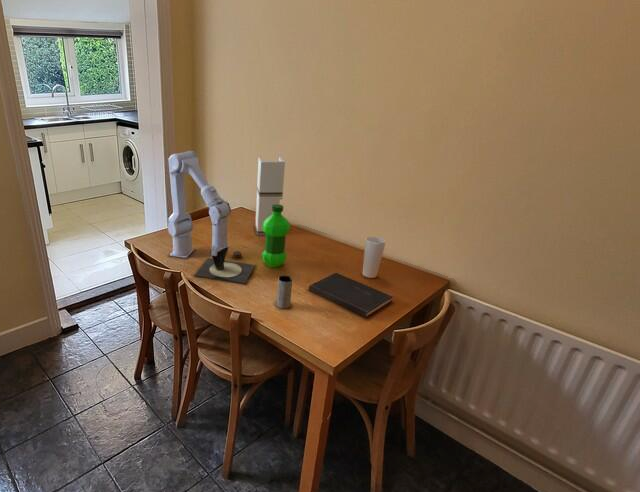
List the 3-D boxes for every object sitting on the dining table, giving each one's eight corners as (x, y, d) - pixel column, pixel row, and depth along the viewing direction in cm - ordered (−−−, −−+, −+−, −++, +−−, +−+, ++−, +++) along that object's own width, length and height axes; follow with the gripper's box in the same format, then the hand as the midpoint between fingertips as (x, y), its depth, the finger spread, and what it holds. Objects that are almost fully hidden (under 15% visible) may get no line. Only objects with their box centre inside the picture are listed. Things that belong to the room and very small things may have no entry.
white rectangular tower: (279, 235, 196) (284, 162, 182) (257, 235, 197) (260, 162, 182) (276, 226, 207) (281, 156, 192) (255, 226, 207) (258, 156, 192)
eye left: (216, 265, 165) (216, 261, 164) (225, 266, 164) (225, 262, 163) (214, 269, 162) (214, 265, 161) (222, 270, 161) (222, 266, 160)
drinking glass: (378, 272, 161) (385, 237, 154) (378, 280, 155) (385, 244, 148) (360, 270, 163) (366, 235, 156) (360, 278, 157) (366, 242, 150)
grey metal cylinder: (275, 301, 142) (277, 275, 137) (288, 301, 142) (290, 275, 137) (278, 309, 137) (280, 282, 133) (291, 308, 138) (294, 281, 133)
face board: (208, 259, 173) (208, 257, 172) (254, 266, 167) (254, 264, 166) (194, 276, 159) (194, 274, 159) (244, 284, 153) (245, 282, 153)
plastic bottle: (288, 261, 170) (293, 203, 160) (282, 272, 162) (286, 211, 151) (265, 257, 174) (269, 200, 164) (257, 267, 166) (260, 208, 155)
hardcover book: (335, 277, 157) (335, 272, 156) (391, 302, 141) (392, 296, 140) (308, 291, 148) (308, 285, 147) (365, 318, 132) (366, 312, 131)
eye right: (234, 255, 177) (234, 250, 176) (242, 256, 175) (242, 251, 175) (231, 258, 173) (232, 254, 173) (240, 259, 172) (240, 255, 172)
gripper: (224, 241, 149) (223, 274, 155) (234, 227, 162) (234, 259, 168) (205, 239, 151) (206, 271, 157) (217, 226, 164) (217, 256, 170)
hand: (219, 265), depth 163 cm, fingers closed on eye left, 3 cm apart
